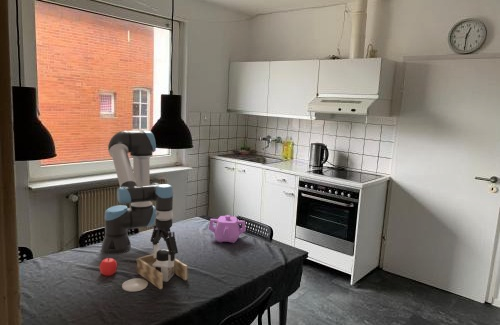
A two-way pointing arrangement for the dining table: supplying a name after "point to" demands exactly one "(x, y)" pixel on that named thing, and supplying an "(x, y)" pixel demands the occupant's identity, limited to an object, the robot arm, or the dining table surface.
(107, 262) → the apple
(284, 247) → the dining table surface
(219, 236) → the teapot
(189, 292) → the dining table surface
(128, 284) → the trivet
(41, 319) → the dining table surface
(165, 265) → the container
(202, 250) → the dining table surface
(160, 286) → the tan open-ended frame
